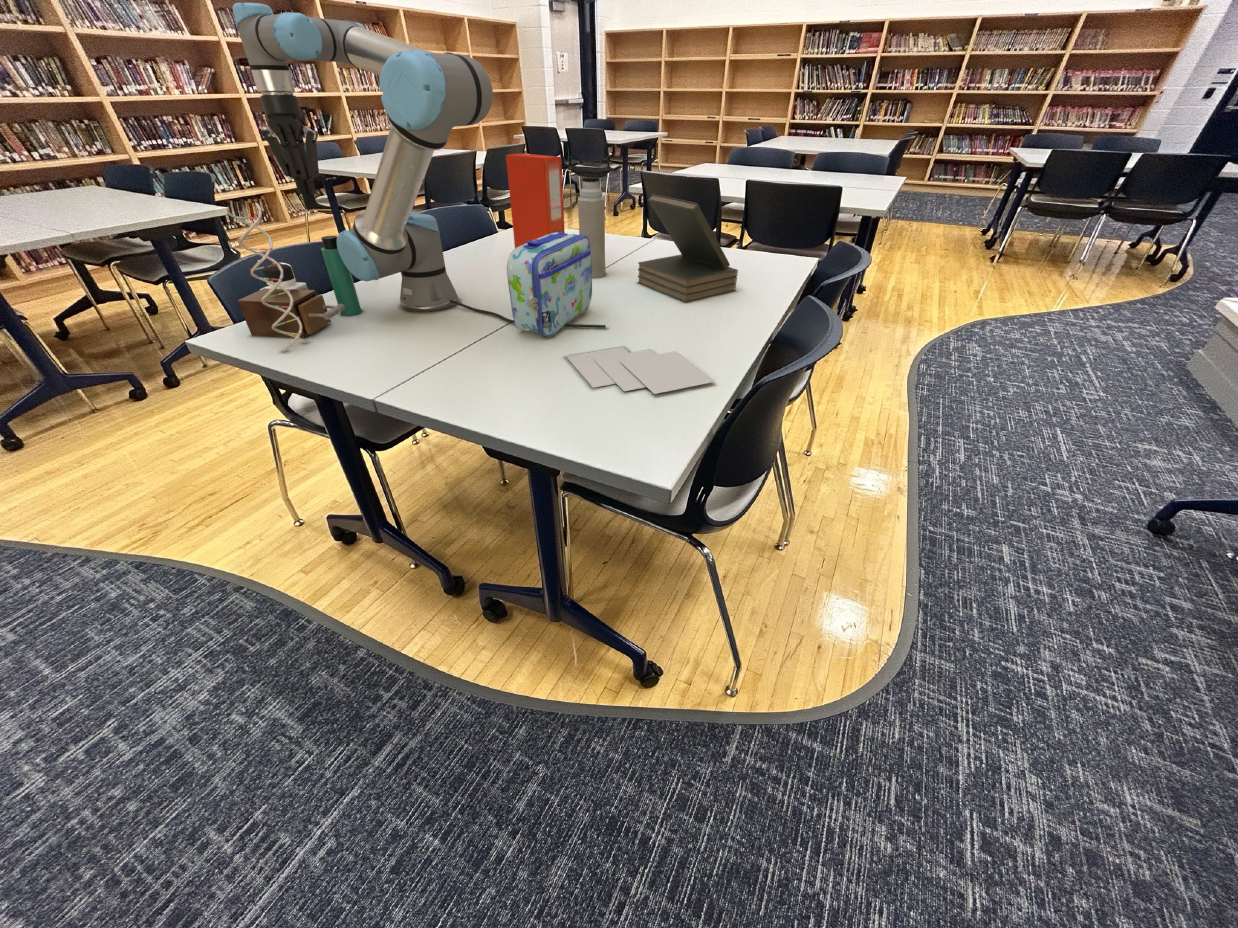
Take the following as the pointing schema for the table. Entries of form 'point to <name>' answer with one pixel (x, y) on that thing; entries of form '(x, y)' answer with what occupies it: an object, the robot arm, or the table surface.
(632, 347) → the table surface
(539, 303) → the lunch box
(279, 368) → the table surface
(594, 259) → the thermos bottle
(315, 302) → the drawer
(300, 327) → the dna model
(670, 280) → the book stack
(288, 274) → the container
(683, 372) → the paper stack
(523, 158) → the file binder
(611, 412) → the table surface
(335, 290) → the bottle
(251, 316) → the cabinet
